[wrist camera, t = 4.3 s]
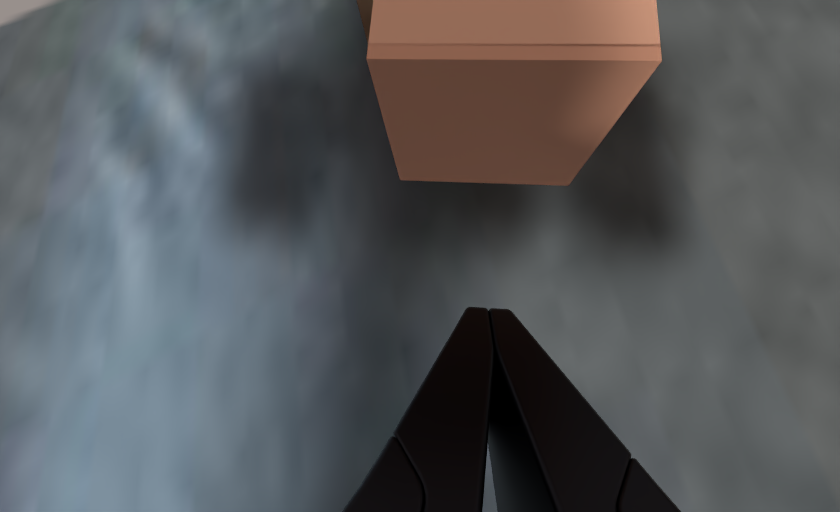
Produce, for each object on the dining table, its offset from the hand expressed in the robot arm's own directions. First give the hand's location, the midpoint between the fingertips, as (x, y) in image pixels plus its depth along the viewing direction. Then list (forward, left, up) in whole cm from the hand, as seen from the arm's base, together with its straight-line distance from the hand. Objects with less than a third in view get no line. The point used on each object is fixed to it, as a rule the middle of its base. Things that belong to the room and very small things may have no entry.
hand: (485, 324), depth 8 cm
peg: (+6, +6, -2) cm, 9 cm away
